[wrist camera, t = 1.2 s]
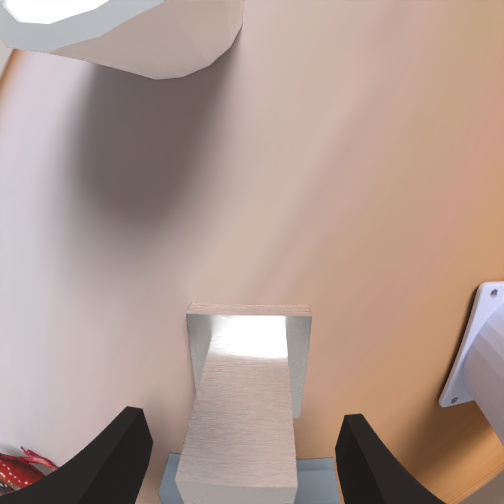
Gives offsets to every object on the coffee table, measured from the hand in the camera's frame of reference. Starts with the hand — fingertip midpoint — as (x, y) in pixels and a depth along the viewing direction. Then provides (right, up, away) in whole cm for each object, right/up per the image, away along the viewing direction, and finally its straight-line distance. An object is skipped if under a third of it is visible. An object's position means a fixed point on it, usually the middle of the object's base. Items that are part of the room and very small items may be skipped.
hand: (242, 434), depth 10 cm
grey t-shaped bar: (0, +1, +4) cm, 5 cm away
